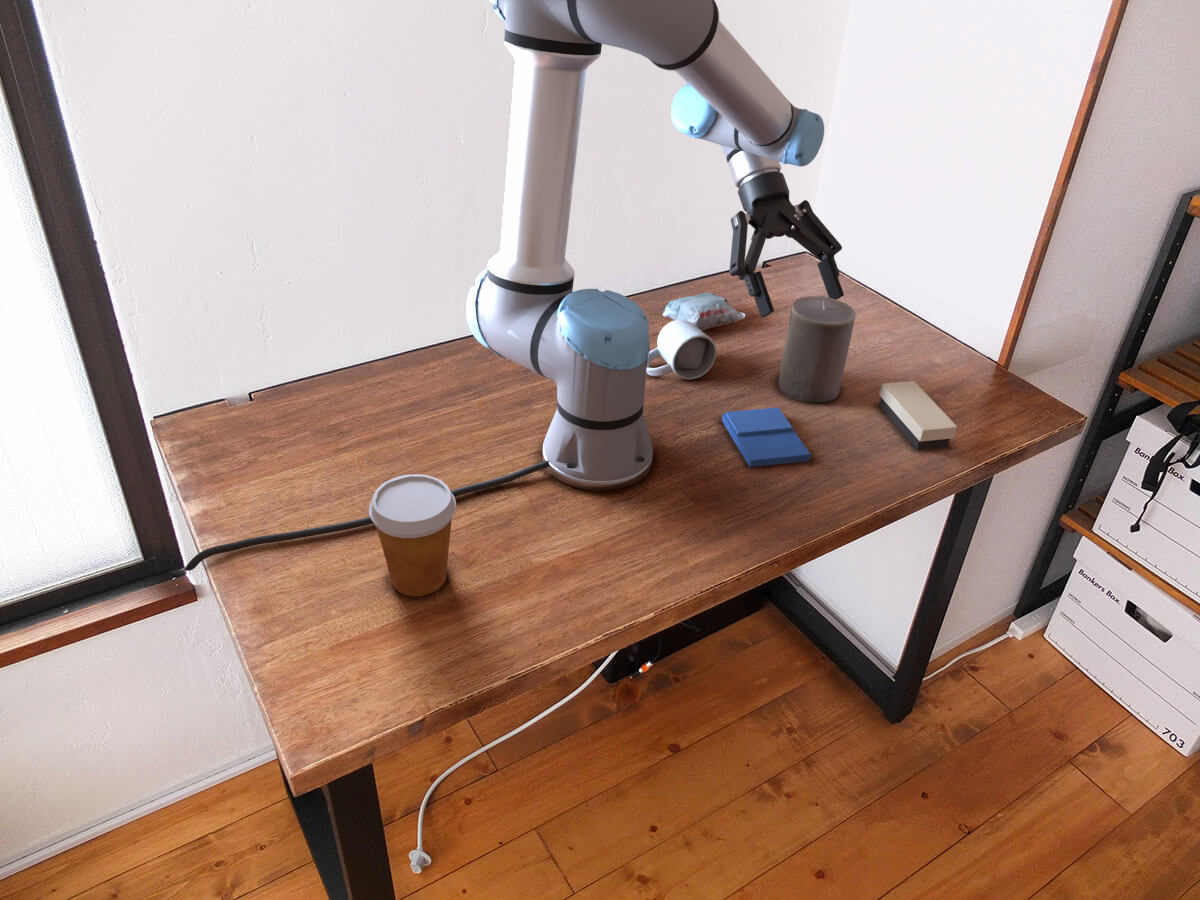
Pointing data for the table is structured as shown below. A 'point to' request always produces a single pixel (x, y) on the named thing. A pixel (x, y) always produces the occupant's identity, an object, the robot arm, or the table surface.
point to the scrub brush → (916, 415)
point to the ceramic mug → (683, 351)
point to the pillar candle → (816, 348)
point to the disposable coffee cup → (414, 531)
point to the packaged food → (703, 311)
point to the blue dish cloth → (765, 437)
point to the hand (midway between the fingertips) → (803, 306)
